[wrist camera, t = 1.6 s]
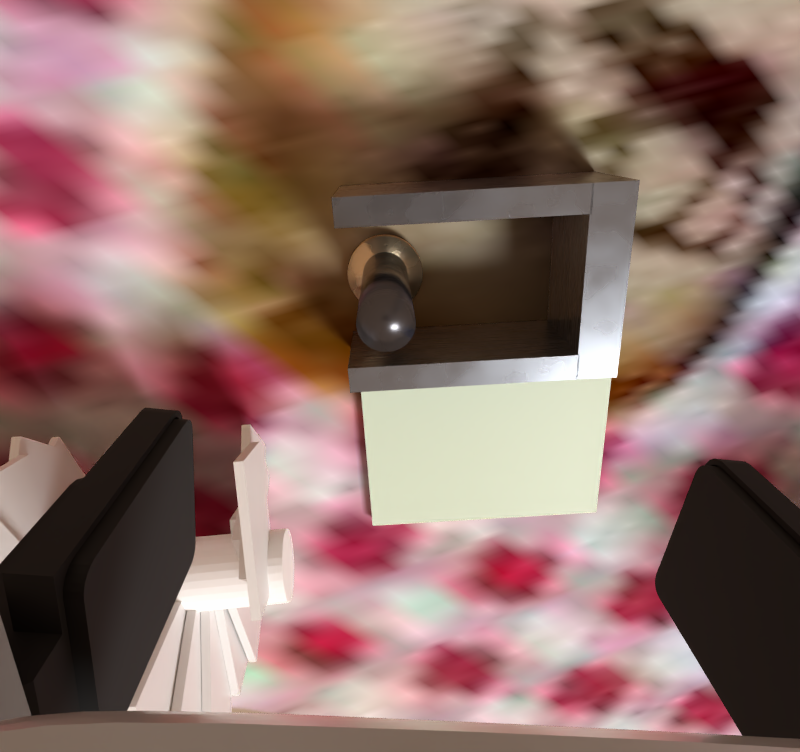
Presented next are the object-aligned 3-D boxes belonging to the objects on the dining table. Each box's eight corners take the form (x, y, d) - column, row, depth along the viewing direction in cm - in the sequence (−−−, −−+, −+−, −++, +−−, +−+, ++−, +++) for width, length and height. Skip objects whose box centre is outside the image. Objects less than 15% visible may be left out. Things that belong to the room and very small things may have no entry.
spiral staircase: (311, 502, 45) (-13, 531, 43) (268, 349, 31) (-203, 386, 30) (309, 783, 33) (-138, 835, 32) (238, 733, 19) (-547, 821, 18)
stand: (420, 232, 32) (435, 271, 23) (423, 305, 34) (437, 367, 25) (345, 236, 32) (330, 277, 23) (351, 309, 34) (340, 373, 25)
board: (607, 366, 36) (612, 371, 35) (592, 505, 41) (596, 512, 40) (360, 380, 36) (360, 385, 35) (372, 518, 41) (372, 525, 40)
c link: (594, 171, 31) (639, 180, 26) (580, 338, 35) (616, 377, 30) (340, 185, 31) (331, 197, 26) (355, 351, 35) (350, 392, 30)
